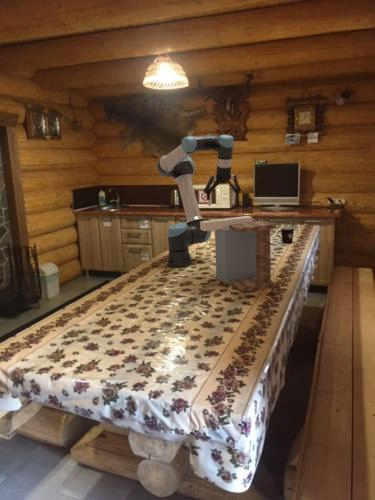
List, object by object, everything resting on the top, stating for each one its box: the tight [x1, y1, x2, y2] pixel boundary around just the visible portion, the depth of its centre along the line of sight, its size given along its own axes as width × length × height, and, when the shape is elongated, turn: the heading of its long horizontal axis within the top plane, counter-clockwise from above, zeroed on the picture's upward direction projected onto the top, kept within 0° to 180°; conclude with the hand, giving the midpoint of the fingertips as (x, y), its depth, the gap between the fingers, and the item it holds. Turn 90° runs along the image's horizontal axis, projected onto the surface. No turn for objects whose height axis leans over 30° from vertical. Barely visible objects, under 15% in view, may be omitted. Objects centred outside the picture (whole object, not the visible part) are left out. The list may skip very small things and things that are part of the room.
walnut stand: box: [229, 220, 277, 293], centre depth 199 cm, size 18×12×30 cm, turn 110°
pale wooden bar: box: [200, 215, 253, 231], centre depth 207 cm, size 26×5×4 cm, turn 110°
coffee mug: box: [276, 226, 295, 245], centre depth 286 cm, size 12×9×10 cm
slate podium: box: [214, 228, 256, 285], centre depth 212 cm, size 17×12×27 cm
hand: (221, 204), depth 228 cm, fingers open, 13 cm apart
